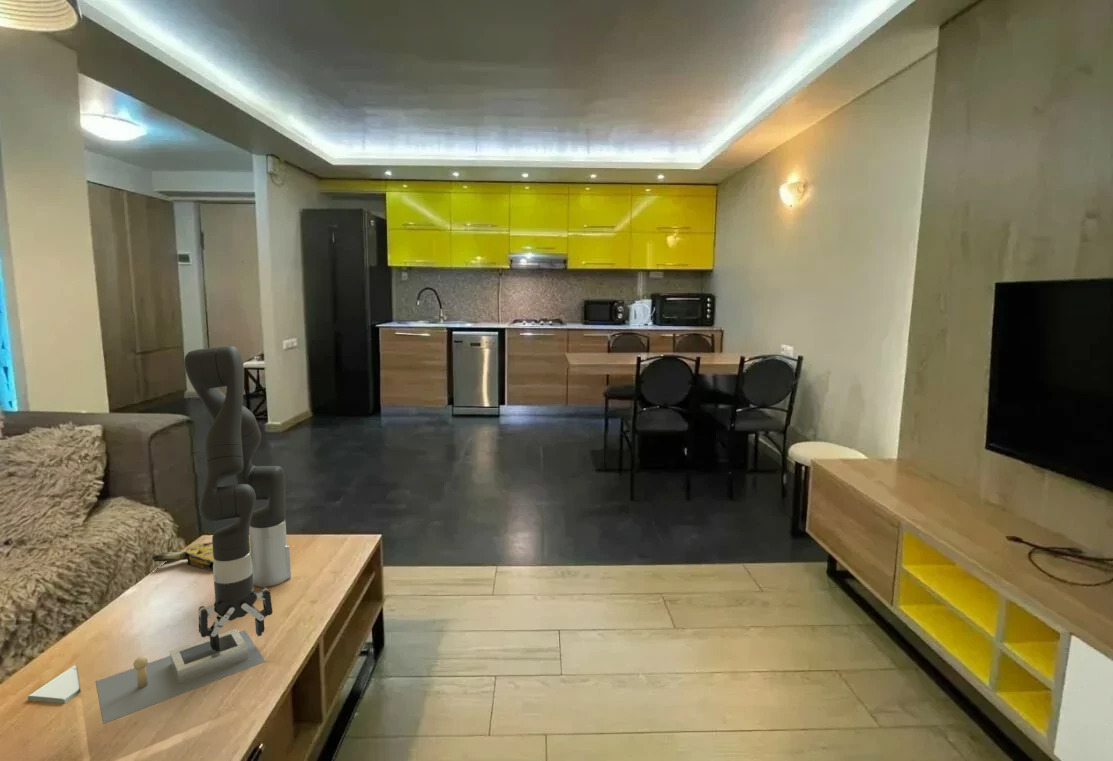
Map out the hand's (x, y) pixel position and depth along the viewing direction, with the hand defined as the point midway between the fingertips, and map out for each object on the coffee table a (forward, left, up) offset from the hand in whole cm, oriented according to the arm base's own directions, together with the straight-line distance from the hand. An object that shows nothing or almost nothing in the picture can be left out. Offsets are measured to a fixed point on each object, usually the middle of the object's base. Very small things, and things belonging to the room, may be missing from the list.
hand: (238, 641), depth 129 cm
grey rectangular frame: (+6, 0, -2) cm, 6 cm away
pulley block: (-6, -58, -4) cm, 58 cm away
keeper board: (+11, 0, -3) cm, 11 cm away
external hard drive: (+28, -13, -4) cm, 31 cm away
